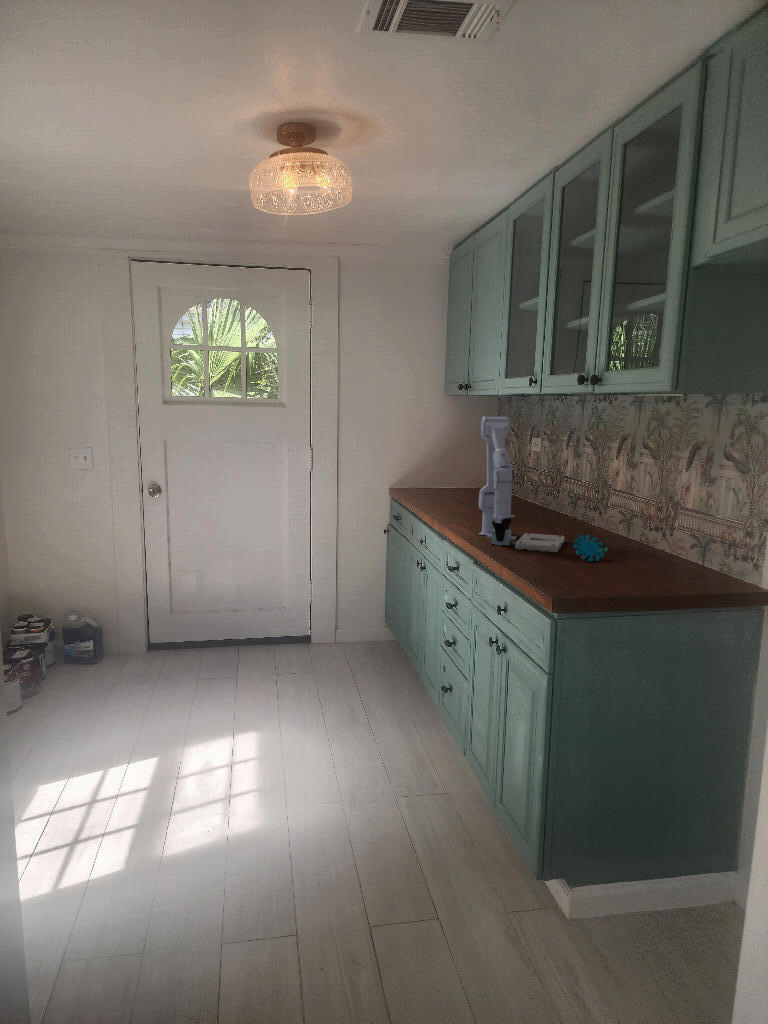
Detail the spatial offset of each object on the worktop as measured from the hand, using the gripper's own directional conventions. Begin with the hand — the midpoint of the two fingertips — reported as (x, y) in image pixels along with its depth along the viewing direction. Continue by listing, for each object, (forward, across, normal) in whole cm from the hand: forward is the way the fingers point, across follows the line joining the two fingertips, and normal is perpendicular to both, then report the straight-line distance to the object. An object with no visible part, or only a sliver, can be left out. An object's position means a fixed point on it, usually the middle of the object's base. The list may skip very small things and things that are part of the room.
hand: (501, 540), depth 239 cm
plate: (+1, +4, -13) cm, 14 cm away
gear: (+2, -13, -31) cm, 33 cm away
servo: (+1, 0, 0) cm, 1 cm away
